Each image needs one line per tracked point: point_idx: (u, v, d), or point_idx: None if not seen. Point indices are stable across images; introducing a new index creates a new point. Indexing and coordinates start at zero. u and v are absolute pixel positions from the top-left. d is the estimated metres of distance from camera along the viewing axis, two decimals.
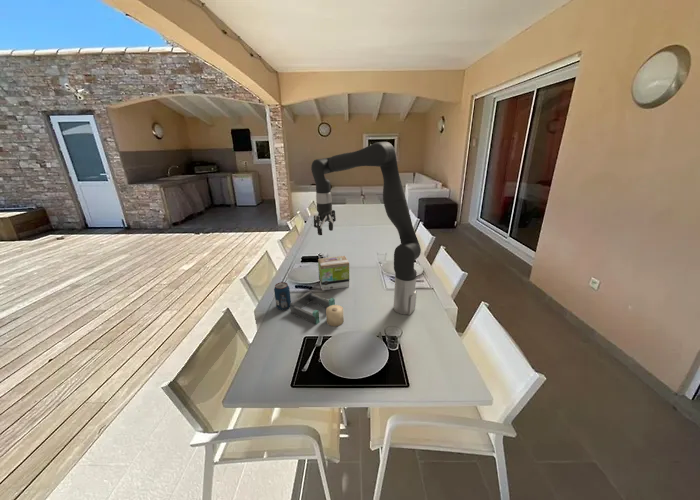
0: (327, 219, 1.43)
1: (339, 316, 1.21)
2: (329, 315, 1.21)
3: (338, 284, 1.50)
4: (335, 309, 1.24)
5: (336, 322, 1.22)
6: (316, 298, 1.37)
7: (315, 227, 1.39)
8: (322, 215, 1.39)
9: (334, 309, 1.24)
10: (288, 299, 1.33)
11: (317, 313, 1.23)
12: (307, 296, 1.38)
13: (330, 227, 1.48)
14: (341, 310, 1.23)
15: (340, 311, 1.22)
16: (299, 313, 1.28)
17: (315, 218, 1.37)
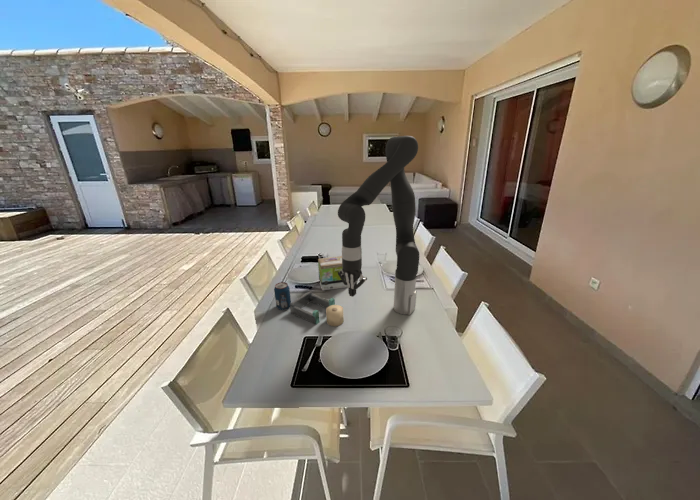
0: None
1: (339, 316, 1.21)
2: (329, 315, 1.21)
3: (338, 284, 1.50)
4: (335, 309, 1.23)
5: (336, 322, 1.22)
6: (316, 298, 1.37)
7: (358, 287, 1.11)
8: None
9: (334, 309, 1.23)
10: (288, 299, 1.33)
11: (317, 313, 1.23)
12: (307, 296, 1.38)
13: None
14: (341, 310, 1.23)
15: (340, 311, 1.22)
16: (299, 313, 1.28)
17: (364, 281, 1.08)
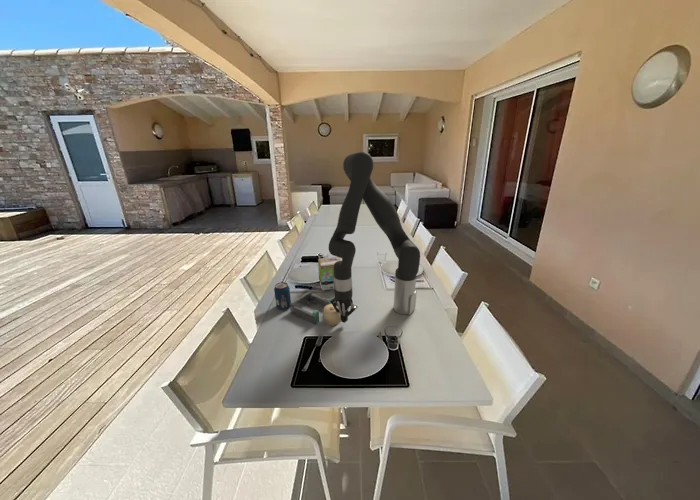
0: None
1: (337, 315, 1.22)
2: (327, 314, 1.22)
3: None
4: (333, 308, 1.24)
5: (334, 321, 1.22)
6: (316, 298, 1.37)
7: None
8: None
9: (332, 308, 1.24)
10: (288, 299, 1.33)
11: (317, 313, 1.23)
12: (307, 296, 1.38)
13: None
14: None
15: None
16: (299, 313, 1.28)
17: (354, 310, 1.16)
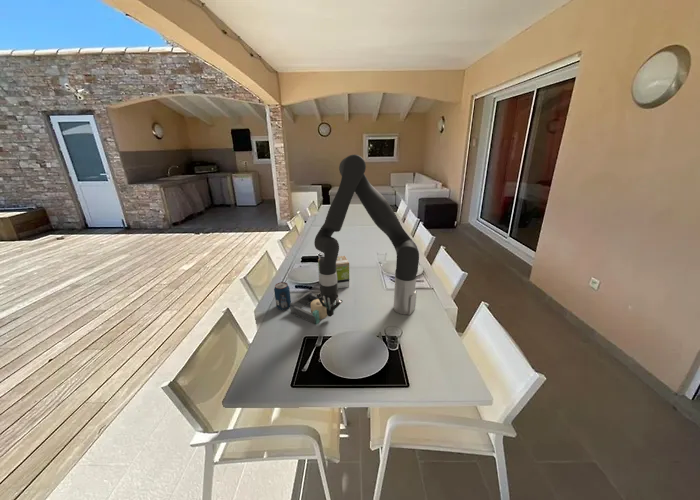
0: None
1: (323, 309, 1.26)
2: (313, 308, 1.26)
3: (338, 284, 1.50)
4: (319, 303, 1.28)
5: (320, 315, 1.26)
6: (316, 298, 1.37)
7: (334, 309, 1.23)
8: None
9: (318, 303, 1.28)
10: (288, 299, 1.33)
11: (317, 313, 1.23)
12: (307, 296, 1.38)
13: None
14: None
15: None
16: (299, 313, 1.28)
17: (339, 304, 1.20)
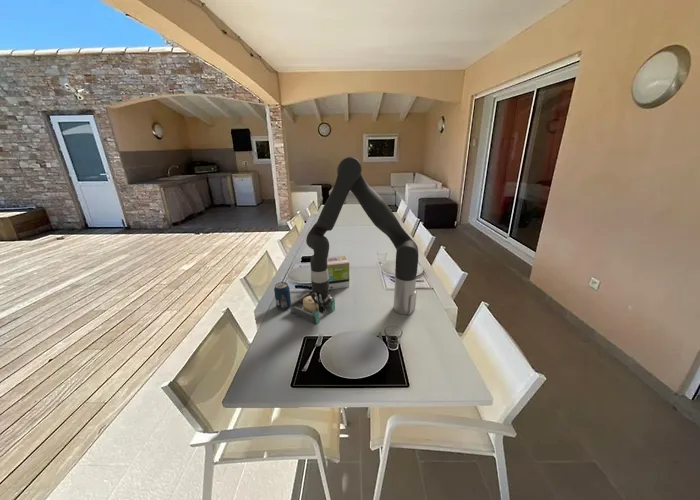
0: None
1: (315, 305, 1.29)
2: (306, 305, 1.28)
3: (338, 284, 1.50)
4: (311, 299, 1.31)
5: (312, 311, 1.29)
6: None
7: (326, 305, 1.25)
8: None
9: (310, 299, 1.31)
10: (288, 299, 1.33)
11: (317, 313, 1.23)
12: None
13: None
14: None
15: None
16: (299, 313, 1.28)
17: (331, 300, 1.23)
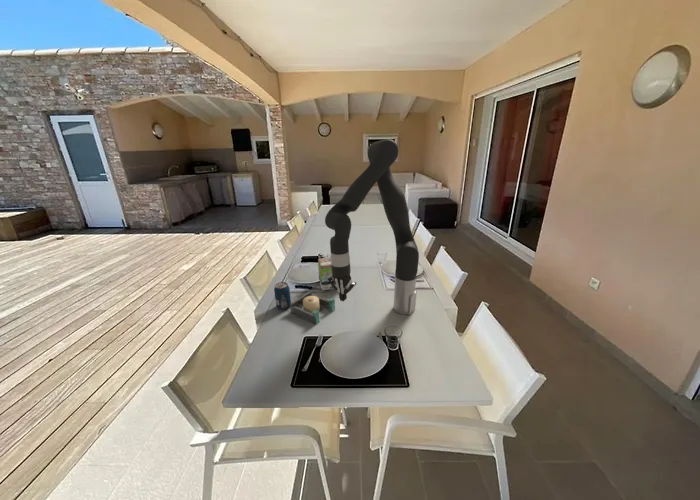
0: None
1: (315, 305, 1.29)
2: (306, 305, 1.28)
3: None
4: (311, 299, 1.31)
5: (312, 311, 1.29)
6: None
7: None
8: None
9: (310, 299, 1.31)
10: (288, 299, 1.33)
11: (317, 313, 1.23)
12: (307, 296, 1.38)
13: None
14: (317, 300, 1.31)
15: (316, 301, 1.30)
16: (299, 313, 1.28)
17: (353, 286, 1.12)
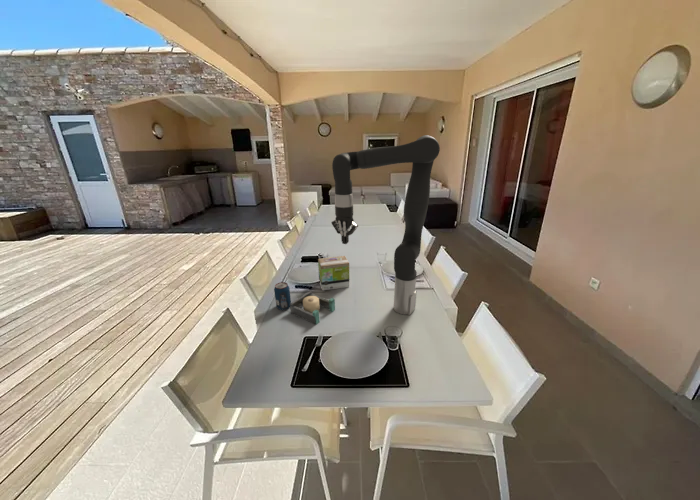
0: None
1: (315, 305, 1.29)
2: (306, 305, 1.28)
3: (338, 284, 1.50)
4: (311, 299, 1.31)
5: (312, 311, 1.29)
6: None
7: (350, 234, 1.21)
8: None
9: (310, 299, 1.31)
10: (288, 299, 1.33)
11: (317, 313, 1.23)
12: (307, 296, 1.38)
13: None
14: (317, 300, 1.31)
15: (316, 301, 1.30)
16: (299, 313, 1.28)
17: (355, 228, 1.19)
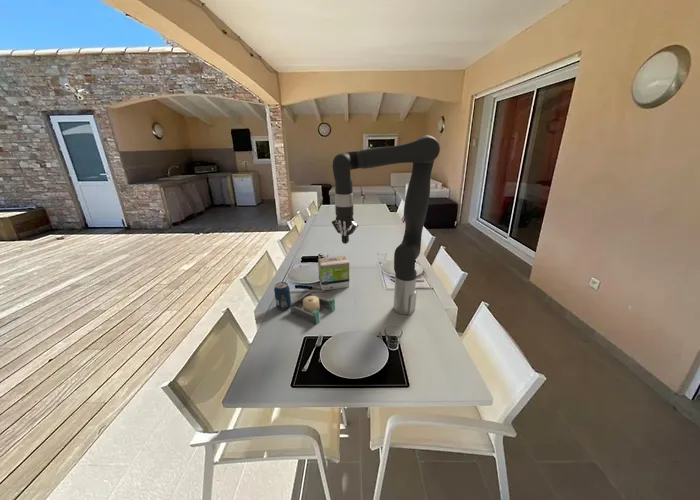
0: None
1: (315, 305, 1.29)
2: (306, 305, 1.28)
3: (338, 284, 1.50)
4: (311, 299, 1.31)
5: (312, 311, 1.29)
6: None
7: (350, 234, 1.21)
8: None
9: (310, 299, 1.31)
10: (288, 299, 1.33)
11: (317, 313, 1.23)
12: (307, 296, 1.38)
13: None
14: (317, 300, 1.31)
15: (316, 301, 1.30)
16: (299, 313, 1.28)
17: (355, 228, 1.19)
